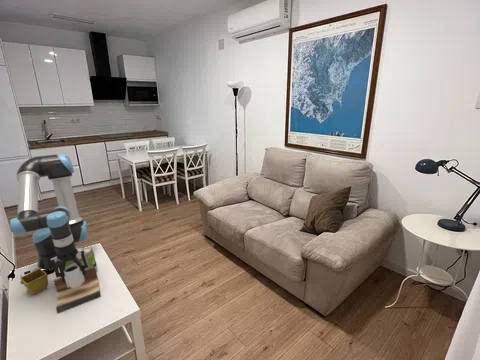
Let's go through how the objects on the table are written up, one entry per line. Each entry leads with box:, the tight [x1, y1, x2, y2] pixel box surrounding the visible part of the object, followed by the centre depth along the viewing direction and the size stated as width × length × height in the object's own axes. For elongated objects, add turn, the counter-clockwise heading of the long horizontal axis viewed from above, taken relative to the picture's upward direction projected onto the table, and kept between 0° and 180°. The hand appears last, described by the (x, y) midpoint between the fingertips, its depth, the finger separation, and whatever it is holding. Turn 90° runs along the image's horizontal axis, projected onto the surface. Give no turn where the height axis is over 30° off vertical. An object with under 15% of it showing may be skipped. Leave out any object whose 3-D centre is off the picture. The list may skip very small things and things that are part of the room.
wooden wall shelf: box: [53, 266, 102, 314], centre depth 124 cm, size 14×18×9 cm
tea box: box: [57, 247, 98, 273], centre depth 138 cm, size 15×10×15 cm
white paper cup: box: [64, 263, 83, 288], centre depth 122 cm, size 7×7×10 cm
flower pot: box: [19, 268, 49, 295], centre depth 128 cm, size 9×9×9 cm
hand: (76, 282), depth 124 cm, fingers closed on white paper cup, 6 cm apart
